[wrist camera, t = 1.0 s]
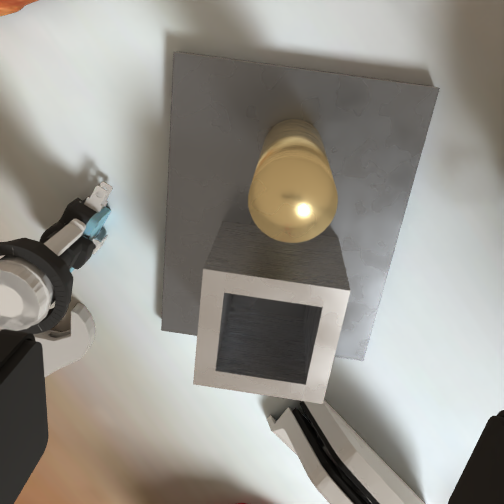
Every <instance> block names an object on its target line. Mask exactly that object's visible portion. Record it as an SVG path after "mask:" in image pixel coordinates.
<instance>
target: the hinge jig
mask: <svg viewBox="0 0 504 504" xmlns="http://www.w3.org/2000/svg"><path fill="white" fill-rule="evenodd" d="M439 89H440V88H438V87H434V86H427V85H419V84H412V83H405V82H397V81H390V80H382V79H375V78H368V77H360V76H353V75H346V74H338V73H331V72H324V71H316V70H309V69H301V68H294V67H287V66H279V65H272V64H265V63H257V62H250V61H243V60H235V59H228V58H220V57H213V56H206V55H198V54H191V53H184V52H174V60H173V82H172V104H171V127H170V149H169V171H168V193H167V216H166V238H165V260H164V282H163V304H162V327H161V330H162V331H169V332H175V333H182V334H189V335H195V336H197V346H196V358H195V370H194V381H193V384H196V385H202V386H209V387H215V388H222V389H228V390H235V391H241V392H247V393H254V394H260V395H267V396H273V397H280V398H286V399H293V400H299V401H306V402H312V403H319V404H323V401H324V397H325V393H326V389H327V385H328V381H329V377H330V373H331V369H332V364H333V360H334V357H341V358H347V359H354V360H360V361H363V360H364V356H365V353H366V349H367V345H368V342H369V338H370V335H371V331H372V328H373V324H374V321H375V317H376V313H377V310H378V306H379V303H380V299H381V296H382V292H383V288H384V285H385V281H386V278H387V274H388V271H389V267H390V263H391V260H392V256H393V253H394V249H395V246H396V242H397V238H398V235H399V231H400V228H401V224H402V221H403V217H404V213H405V210H406V206H407V203H408V199H409V196H410V192H411V188H412V185H413V181H414V178H415V174H416V171H417V167H418V163H419V160H420V156H421V153H422V149H423V146H424V142H425V138H426V135H427V131H428V128H429V124H430V121H431V117H432V114H433V110H434V106H435V103H436V99H437V96H438V92H439ZM288 119H299V120H303V121H306V122H308V123H310V124H311V125H312V126H314V127H315V128H316V130H317V131H318V132H319V134H320V136H321V138H322V142H323V145H324V149H325V152H326V155H327V159H328V162H329V166H330V169H331V172H332V176H333V179H334V183H335V186H336V189H337V195H338V204H337V210H336V213H335V216H334V218H333V220H332V221H331V223H330V224H329V226H328V227H327V228H326V229H325V230H324V231H323V232H322V233H320V234H319V235H318V236H316V237H314V238H312V239H310V240H307V241H303V242H298V243H288V242H282V241H278V240H275V239H273V238H271V237H269V236H268V235H266V234H265V233H263V232H262V231H261V230H260V229H259V228H258V227H257V225H256V224H255V222H254V221H253V219H252V217H251V214H250V211H249V207H248V195H249V190H250V186H251V183H252V180H253V177H254V173H255V170H256V167H257V163H258V160H259V157H260V154H261V150H262V147H263V144H264V141H265V138H266V136H267V134H268V132H269V131H270V130H271V129H272V128H273V127H274V126H275V125H276V124H278V123H280V122H282V121H284V120H288Z"/></svg>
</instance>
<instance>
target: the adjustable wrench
mask: <svg viewBox="0 0 504 504" xmlns="http://www.w3.org/2000/svg"><path fill="white" fill-rule="evenodd" d="M1 330H3V329H0V331H1ZM95 333H96V328H95V323H94V320H93V317H92V315H91V313H90V312H89V310H88V309H87V308H86V306H85V305H83V304H81V303H77V305H76V306H75V307H74V308H73V309H72V311H71V330H67V331H64V332H58V331H54V330H48V331H45V332H42V333H38V334H33V335H34V337H35V341H37V342H40V343H41V344H42V348H43V362H44V377H46V376H48V375H50V374H51V373H53V372H55V371H56V370H58V369H60V368H62V367H65V366H67V365H69V364H71V363H74V362H76V361H78V360H79V359H81V358H82V357H83V356H84V355H85V353H86V352H87V350H88V349H89V347H90V346H91V344H92V343H93V341H94V339H95Z"/></svg>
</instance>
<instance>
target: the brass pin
mask: <svg viewBox="0 0 504 504" xmlns="http://www.w3.org/2000/svg"><path fill="white" fill-rule="evenodd" d="M337 204H338V195H337V189H336V186H335V183H334V179H333V176H332V172H331V169H330V166H329V162H328V159H327V155H326V152H325V149H324V145H323V142H322V138H321V136H320V134H319V132H318V131H317V130H316V128H315V127H314V126H312V125H311V124H310V123H308V122H306V121H303V120H299V119H288V120H284V121H282V122H280V123H278V124H276V125H275V126H274V127H273V128H272V129H271V130H270V131H269V132H268V134H267V136H266V138H265V141H264V144H263V147H262V150H261V154H260V157H259V160H258V163H257V167H256V170H255V173H254V177H253V180H252V183H251V186H250V190H249V195H248V207H249V211H250V214H251V217H252V219H253V221H254V222H255V224H256V225H257V227H258V228H259V229H260V230H261V231H262V232H263V233H265V234H266V235H268V236H269V237H271V238H273V239H275V240H278V241H282V242H288V243H298V242H303V241H307V240H310V239H312V238H314V237H316V236H318V235H319V234H320V233H322V232H323V231H324V230H325V229H326V228H327V227H328V226H329V224H330V223H331V221H332V220H333V218H334V216H335V213H336V210H337Z"/></svg>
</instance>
